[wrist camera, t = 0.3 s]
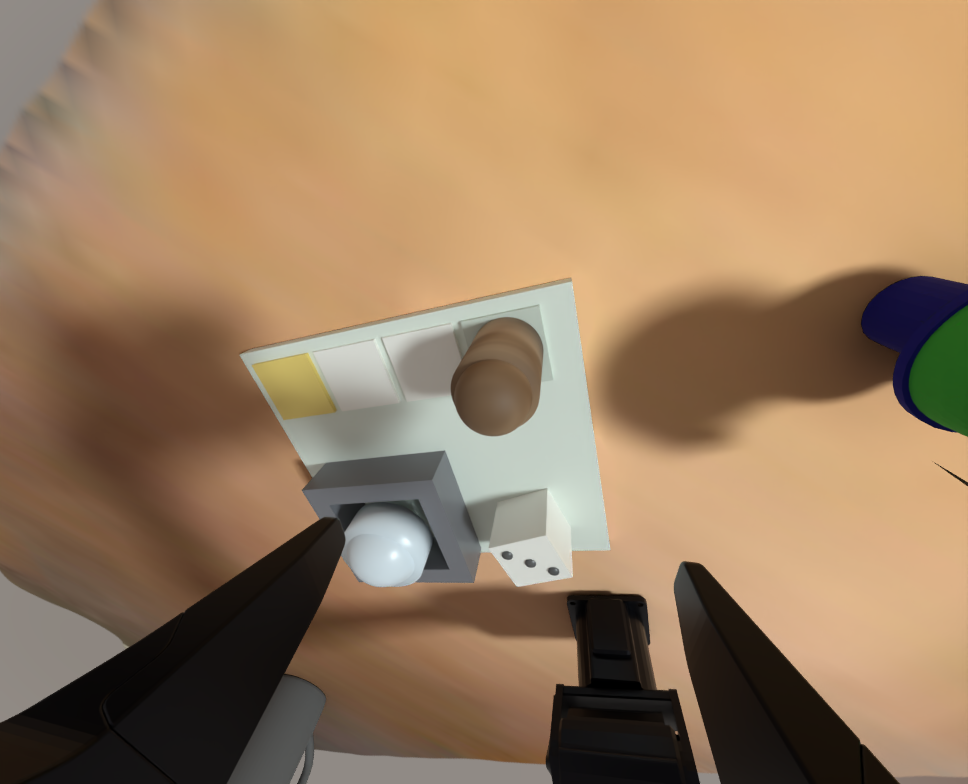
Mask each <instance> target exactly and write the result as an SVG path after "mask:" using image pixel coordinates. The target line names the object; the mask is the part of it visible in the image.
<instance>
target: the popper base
mask: <svg viewBox="0 0 968 784" xmlns="http://www.w3.org/2000/svg"><path fill="white" fill-rule="evenodd" d="M302 491H303V493H304V495H305V496H306V498H307V499H308V501H309V503H310V504H311V506H312V507H313V509H314V511H315V512H316V514H317V516H318V517H319V519H321V518H323V517H336V518H338V519H340V521H341V524H342V528H343V531H344V532H345V531H346V529H347V528H348V526H349V525H350V523H351V521H352V520H353V518H354V517H355V515H356V513H357V512H358V511H359V510H360V509H361V508H362V507H363V506H365V503H367V502H383V501H398V500H414V499H419V502H420V504H421V506H422V509H423V511H424V513H425V515H426V518H427V520H428V522H429V524H430V527H431V529H432V531H433V533H434V536H435V537H432V538H433V543H432V547H431V550H430V552H429V555H428V558H427V561H426V564H425V566H424V569H423V572H422V574H421V576H420V578H419V579H418V580H417V581H416V582H441V583H474V581H475V576H476V571H477V567H478V562H479V557H480V553H481V546H480V543H479V540H478V538H477V535H476V532H475V530H474V527H473V524H472V521H471V519H470V516H469V513H468V511H467V508H466V505H465V503H464V500H463V497H462V494H461V492H460V489H459V486H458V484H457V481H456V478H455V475H454V473H453V470H452V467H451V465H450V462H449V459H448V457H447V454H446V451H445V450H444V451H435V452H425V453H415V454H405V455H396V456H386V457H376V458H367V459H357V460H347V461H338V462H328V463H325V464H324V465H323V467H322V468H321V469H320V470H319V471H318V472H317V473H316V475H315V476H314V477H313V478H312V479H311V480H310V482H309V483H308V484H307V485H306V486H305V487H304V488H303V490H302ZM351 570H352V569H351ZM352 572H353V570H352ZM353 573H354V572H353ZM354 575H355V577H356V578H357V580H358V581H359V582H363V581H362V580H360V579H359V578H358V577H357V576H356V574H355V573H354Z"/></svg>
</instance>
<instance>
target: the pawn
mask: <svg viewBox="0 0 968 784" xmlns="http://www.w3.org/2000/svg"><path fill="white" fill-rule="evenodd" d="M543 351H544V350H543V344H542V340H541V338H540V336H539V334H538V333H537V331H536V330H535V329H534V328H533V327H532V326H531V325H529V324H528V323H527V322H525V321H523V320H520V319H517V318H513V317H501V318H497V319H494V320H491V321H489V322H488V323H486V324H485V325H484V326H483V327H482V328H481V329H480V330H479V331H478V333H477V335H476V336H475V338H474V340H473V341H472V343H471V345H470V347H469V348H468V350H467V352H466V353H465V355H464V357H463V359H462V360H461V362H460V364H459V365H458V367H457V369H456V371H455V372H454V374H453V377H452V380H451V396H452V400H453V403H454V405H455V407H456V410H457V413H458V415H459V417H460V419H461V420H462V421H463V423H464V424H465V425H466V426H467V427H469V428H470V429H471V430H473V431H474V432H476V433H479V434H481V435H485V436H502V435H505V434H508V433H510V432H512V431H514V430H516V429H517V428H518V427H520V426H521V425H523V424H525V423H526V422H527V421H528V420H529V419H530V418H531V417H532V416H533V415H534V413H535V411H536V409H537V407H538V404H539V399H540V389H541V377H542V365H543Z"/></svg>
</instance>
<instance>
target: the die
mask: <svg viewBox="0 0 968 784" xmlns="http://www.w3.org/2000/svg"><path fill="white" fill-rule="evenodd" d="M489 550H490V551H491V553H492V554H493V555H494V557H495V558H496V559H497V561H498V562H499V563H500V565H501V566H502V567H503V569H504V570H505V571H506V573H507V574H508V576H509V577H510V578H511V580H512V581H513V582H514V584H515V585H516V586H517V587H519V586H525V585H531V584H537V583H542V582H548V581H554V580H559V579H565V578H571V577H573V571H572V547H571V527H570V525H569V523H568V522H567V520H566V518H565V517H564V515H563V513H562V512H561V510H560V508H559V507H558V505H557V503H556V502H555V500H554V498H553V497H552V495H551V493H550V492H549V490H548V488H546V489H543V490H539V491H536V492H532V493H528V494H525V495H521V496H518V497H514V498H511V499H507V500H503V501H500V502H497V507H496V512H495V518H494V523H493V528H492V533H491V538H490V543H489Z"/></svg>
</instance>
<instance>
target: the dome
mask: <svg viewBox="0 0 968 784" xmlns="http://www.w3.org/2000/svg"><path fill="white" fill-rule="evenodd" d="M344 534H345V538H346V541H345V546H344V549H343V551H342V554H341V556H342V558H343V560H344V561H345V562H346V564H347V565H348V566H349V567H350V568H351V569H352V570H353V572H354V573H355V574H356V576H357V577H358V578H359V579H360V580H362V581H363V582H365V583H367V584H369V585H372V586H375V587H389V586H393V587H400V586H407V585H410V584H412V583H414V582H416V581H417V580H418V579H419V578H420V576H421V574H422V572H423V569H424V566H425V564H426V561H427V558H428V555H429V552H430V550H431V547H432V543H433V538H432V534H431V531H430V529H429V527H428V526H427V524H426V523H425V522H424V521H423V520H422V519H421V518H420V517H419V516H418V515H417V514H415V513H414V512H413V511H411V510H410V509H408V508H406V507H404V506H401V505H397V504H393V503H387V502H375V503H370V504H367V505H365V506H363V507H362V508H361V509H360V510H359V511H358V512H357V513H356V515H355V517H354V518H353V520H352V521H351V523H350V525H349V526H348V528H347V529H346V531H345V532H344Z"/></svg>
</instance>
